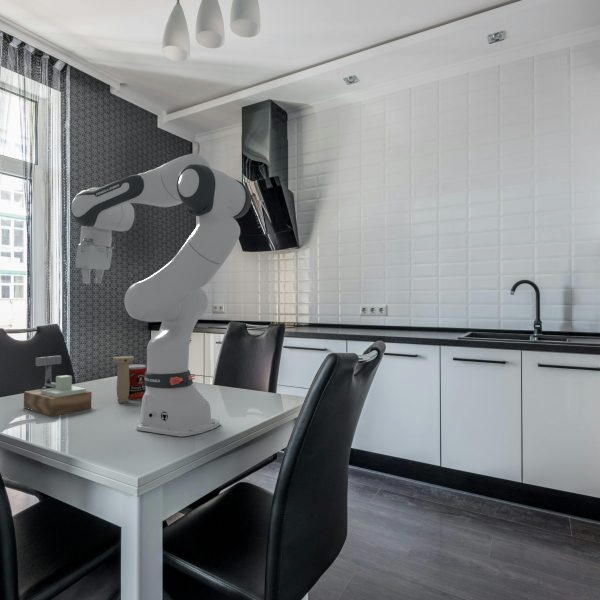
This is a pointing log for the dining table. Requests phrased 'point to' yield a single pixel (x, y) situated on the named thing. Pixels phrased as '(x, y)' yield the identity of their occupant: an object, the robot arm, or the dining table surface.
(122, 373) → the handle
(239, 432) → the dining table surface
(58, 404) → the case
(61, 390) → the lid
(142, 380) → the canned food
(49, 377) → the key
